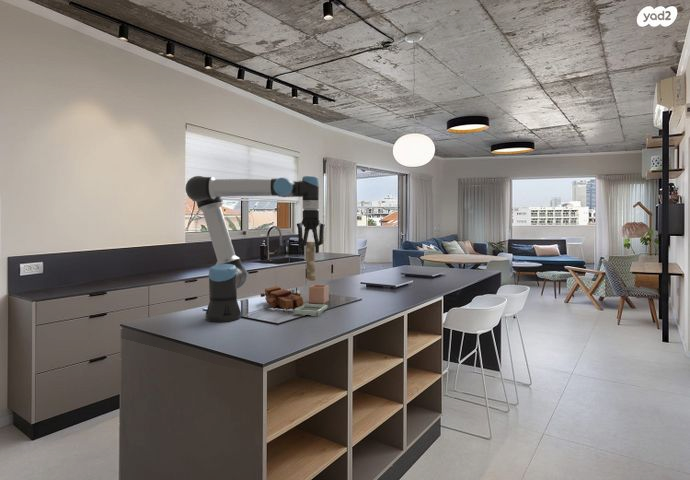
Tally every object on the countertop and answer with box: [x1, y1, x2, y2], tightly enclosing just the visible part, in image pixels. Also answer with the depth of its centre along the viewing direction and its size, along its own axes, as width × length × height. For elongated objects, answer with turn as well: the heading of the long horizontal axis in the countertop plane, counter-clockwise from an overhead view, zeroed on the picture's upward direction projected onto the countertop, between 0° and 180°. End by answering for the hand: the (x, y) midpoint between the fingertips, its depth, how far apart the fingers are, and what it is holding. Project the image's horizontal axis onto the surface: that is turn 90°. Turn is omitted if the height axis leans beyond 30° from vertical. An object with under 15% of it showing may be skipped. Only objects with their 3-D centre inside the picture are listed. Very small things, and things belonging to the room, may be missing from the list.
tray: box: [292, 303, 329, 317], centre depth 201 cm, size 12×14×2 cm
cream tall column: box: [306, 241, 316, 282], centre depth 200 cm, size 4×4×18 cm
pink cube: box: [308, 284, 330, 304], centre depth 221 cm, size 8×8×9 cm
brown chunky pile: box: [259, 285, 305, 311], centre depth 213 cm, size 17×9×30 cm
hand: (310, 259), depth 200 cm, fingers closed on cream tall column, 4 cm apart
